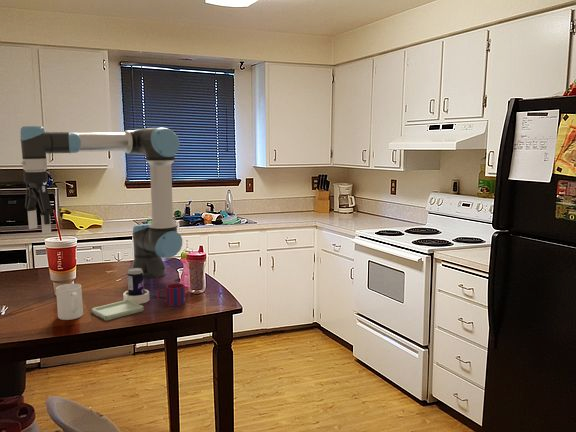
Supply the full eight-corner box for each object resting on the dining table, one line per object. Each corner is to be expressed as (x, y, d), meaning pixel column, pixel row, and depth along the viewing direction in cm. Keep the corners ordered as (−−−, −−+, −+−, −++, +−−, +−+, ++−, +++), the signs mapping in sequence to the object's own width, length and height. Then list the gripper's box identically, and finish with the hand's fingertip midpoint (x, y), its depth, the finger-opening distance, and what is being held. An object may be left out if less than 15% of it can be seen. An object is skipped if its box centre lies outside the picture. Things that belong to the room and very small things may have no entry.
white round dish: (141, 295, 199) (141, 287, 198) (154, 300, 192) (153, 292, 192) (119, 300, 192) (118, 292, 192) (131, 306, 186) (130, 298, 185)
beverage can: (139, 303, 189) (138, 271, 187) (125, 302, 190) (124, 271, 188) (147, 298, 194) (145, 268, 193) (133, 297, 195) (132, 267, 194)
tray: (128, 303, 188) (128, 299, 188) (143, 310, 181) (143, 306, 180) (91, 312, 179) (91, 308, 178) (105, 320, 171) (105, 316, 171)
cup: (186, 305, 187) (186, 287, 186) (158, 308, 183) (158, 290, 182) (183, 299, 193) (182, 282, 192) (156, 303, 189) (155, 285, 188)
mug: (55, 315, 176) (53, 286, 174) (78, 310, 181) (77, 282, 179) (65, 325, 166) (63, 294, 165) (90, 320, 171) (88, 290, 170)
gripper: (12, 169, 184) (17, 227, 187) (36, 173, 166) (41, 237, 169) (34, 169, 189) (38, 225, 192) (60, 172, 171) (64, 234, 174)
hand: (39, 231), depth 181 cm, fingers open, 13 cm apart
